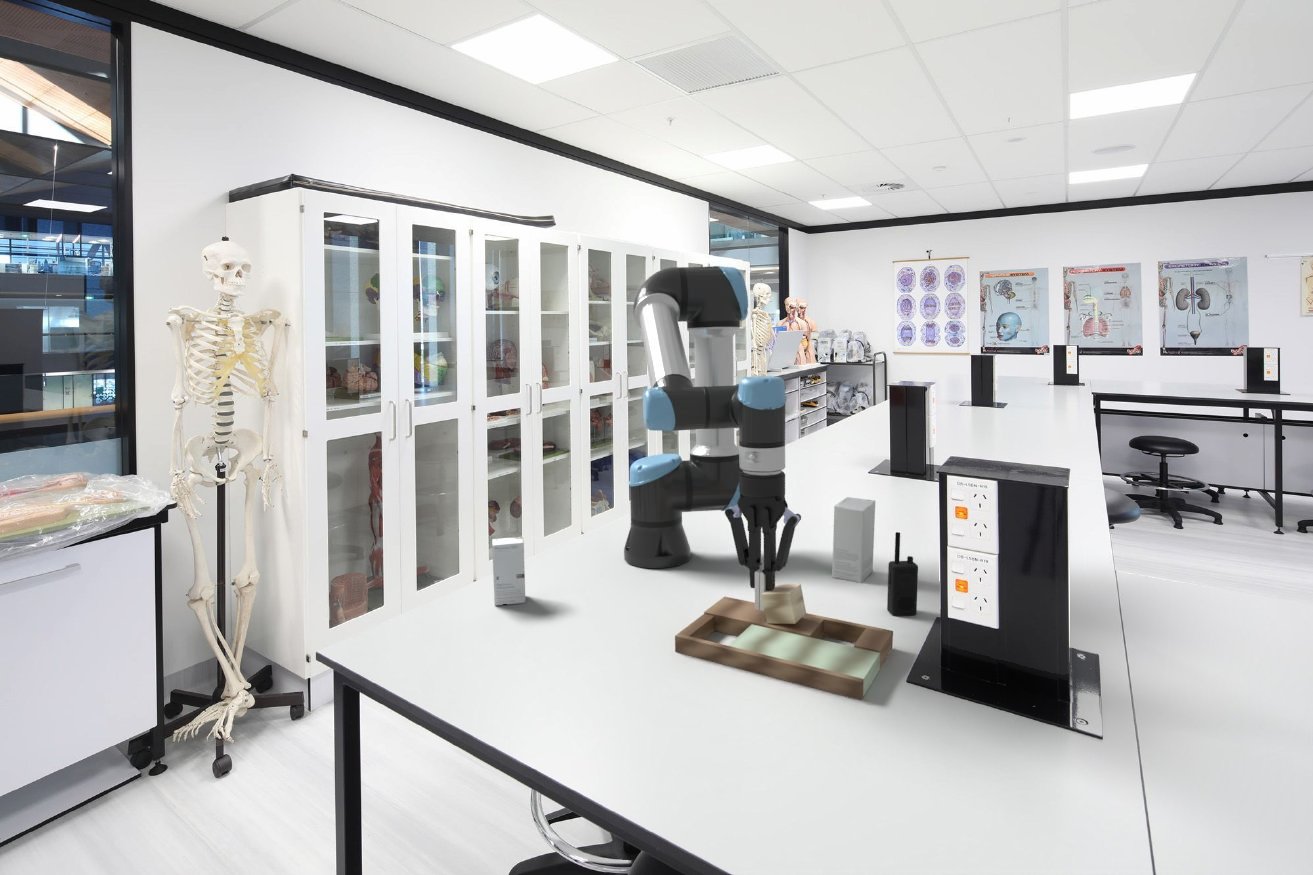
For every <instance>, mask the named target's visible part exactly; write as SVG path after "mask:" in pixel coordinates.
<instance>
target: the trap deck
mask: <svg viewBox="0 0 1313 875" xmlns="http://www.w3.org/2000/svg"><path fill="white" fill-rule="evenodd" d="M714 632H718V633H722V634H725V635H731V636H734V637H735V636H736V638H735V639H734V640H732V642H730V643H729V644H728V645H726V644H721V643H717V642H715V641H710V640H706V639H707V638H708V637H709V636H711V634H712V633H714ZM824 637H826V638H831V639H834V640H838V641H839V640H840V641H844V642H849V643H853V646H852V645H847V644H842V643H838V642H833V641H829V640H824V639H823V638H824ZM893 642H894V630H890V629H885V628H882V627H881V628H880V627H877V626H871V625H866V624H861V623H857V622H851V621H846V620H842V619H838V618H832V617H829V616H828V617H827V616H821V615H817V614H812V613H808V612H806V614H805V615H804V616H802V617H801V618H800V619H799V620H798V621H797V622H796V623H795V624H776V623H767V620H766V615H765V610H764V611H762V610H760V609H759V610H757V609H755V601H754V602H753V601H748V600H744V599H738V598H734V597H729V596H724V597H722V598H720V599H719V600H717V602H715V603H714V604H712V606H710V607H708V608H707V609H706V610H704V611H703V614H702V615H700V616H699V617H698V618H697V619H695V620H694V621H692V622H691V623H690V624H688V625H687V626H686V627H685V628H683V629H682V630H681V631H680V632H678V633H677V634H676V635H675V636H674V647H675V648H674V652H676V653H678V654H679V653H680V654H683V655H687V656H691V657H694V658H698V659H703V660H705V661H709V662H714V663H719V664H722V665H725V666H729V667H732V668H736V669H741V670H744V671H749V672H752V673H755V674H758V675H759V674H760V675H764V676H768V677H772V678H775V679H779V680H783V681H787V682H791V683H793V684H794V683H795V684H798V685H802V686H805V687H808V688H813V689H818V690H820V691H824V692H828V693H832V694H836V695H839V694H840V695H841V696H843V697H847V696H848V698H851V699H855V700H859V701H862V699H863V698H864V697H865V695H866V693H867V691H868V689H869V688H870V686H871V685H872V683H873V682H874V680H875V678H876V677H877V675H878V673H879V671H880V669H882V666H883V665H884V663H885V661H886V659H887V658H888V657H889V655H890V653H891V652H892V650H893Z"/></svg>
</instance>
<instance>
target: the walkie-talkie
mask: <svg viewBox="0 0 1313 875" xmlns="http://www.w3.org/2000/svg"><path fill="white" fill-rule="evenodd" d="M894 535H895V538H894V540H895V541H894V560H892V561H889V562H888V566H887V567H888V569H887V571H888V572H887V574H888V575H887V598H886V599H887V602H886V603H887V605H886V610H887V612H888V613H889V614H890V615H891V616H894V617H901V616H903V617H904V616H905V617H906V616H915V615H917V612H918V611H917V610H918V609H917V608H918V585H919V584H918V583H919V582H918V581H919V580H918V579H919V566H918V564H917V563H915V562H914V556H912V555H909V556H907V558H906V560H900V556H901V554H900V553H901V552H900V551H901V550H900V549H901V532H898V531H896V532H895V534H894Z"/></svg>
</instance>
